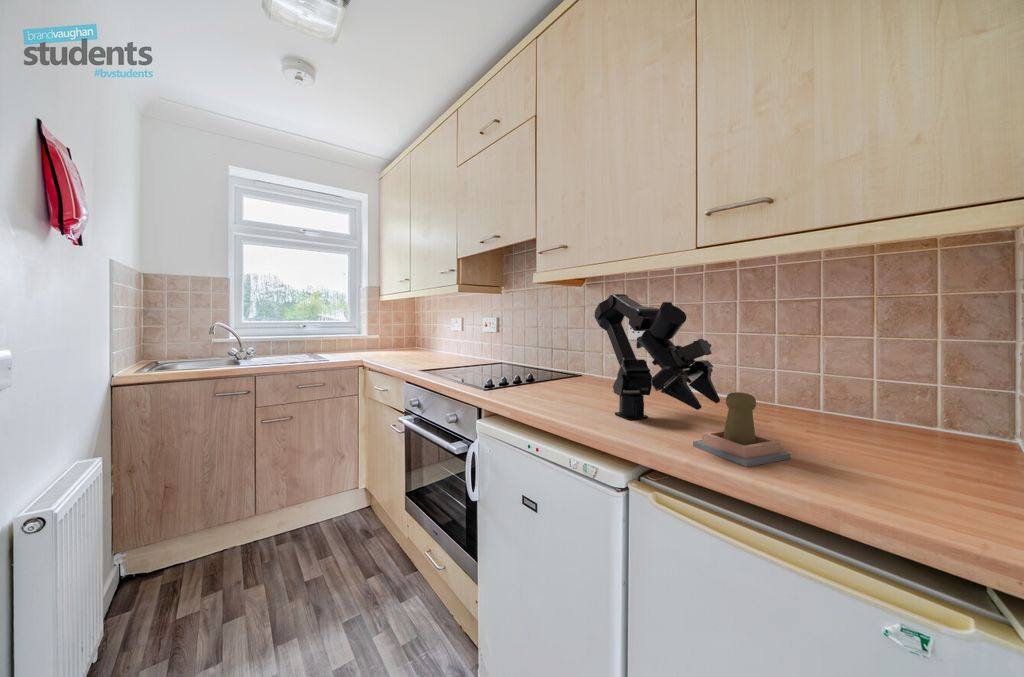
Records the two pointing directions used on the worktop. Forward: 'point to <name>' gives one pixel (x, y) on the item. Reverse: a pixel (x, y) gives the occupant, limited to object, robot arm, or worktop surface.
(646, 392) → the robot arm
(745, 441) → the olive pepper mill
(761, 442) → the stand
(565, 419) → the worktop surface
